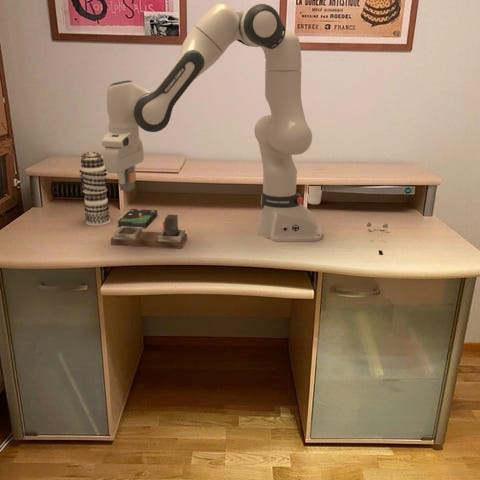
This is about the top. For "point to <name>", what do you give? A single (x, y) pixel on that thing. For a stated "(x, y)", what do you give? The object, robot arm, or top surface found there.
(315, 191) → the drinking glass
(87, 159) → the decorative candle
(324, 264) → the top surface
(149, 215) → the disk drive
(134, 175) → the grey orange block
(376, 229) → the diorama
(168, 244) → the wooden holder stand
